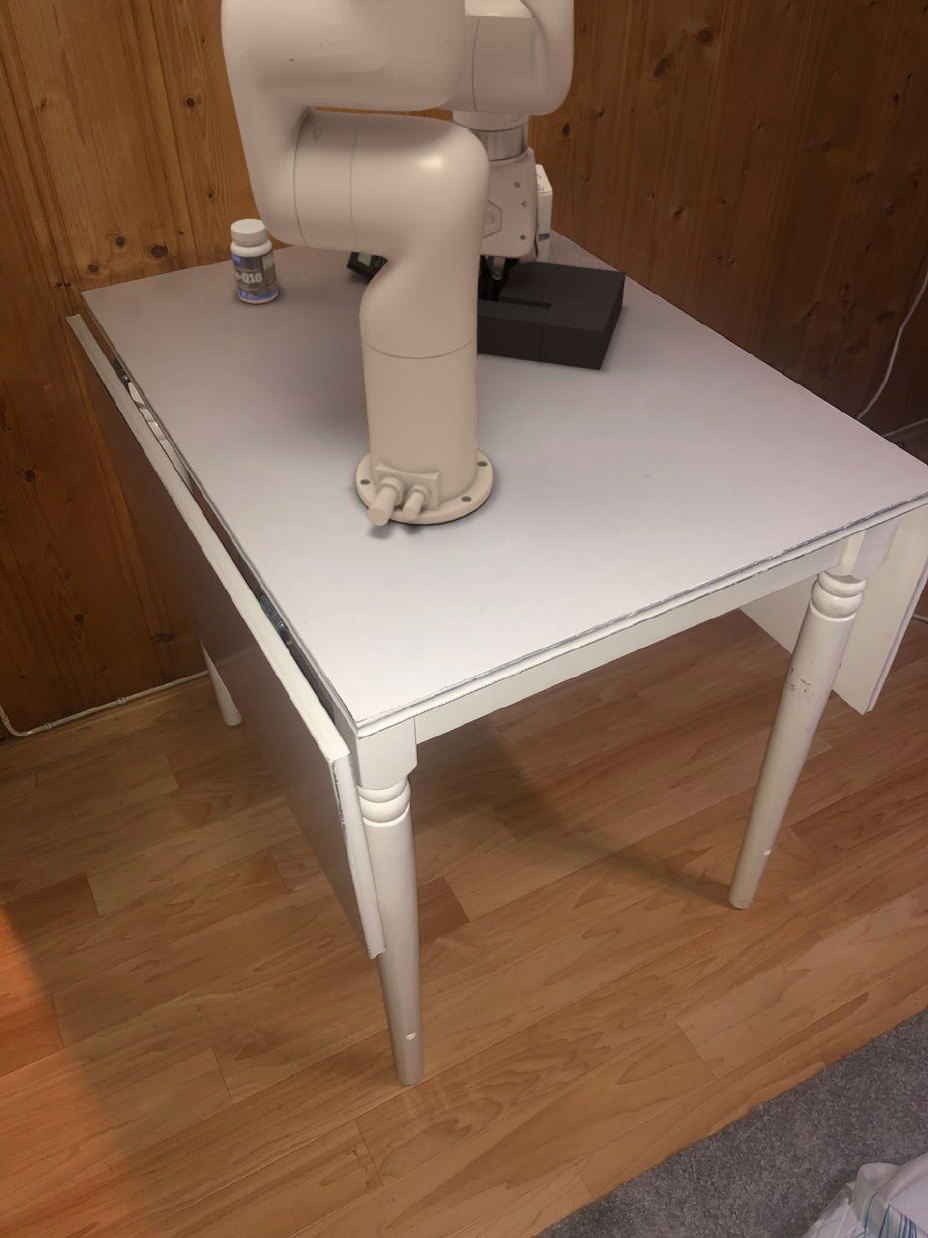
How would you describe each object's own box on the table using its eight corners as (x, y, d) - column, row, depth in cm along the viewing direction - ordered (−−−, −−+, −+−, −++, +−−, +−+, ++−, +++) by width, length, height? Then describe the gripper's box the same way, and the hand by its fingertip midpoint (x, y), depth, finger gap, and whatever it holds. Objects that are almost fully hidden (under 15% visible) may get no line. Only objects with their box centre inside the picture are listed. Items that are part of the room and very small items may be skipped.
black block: (549, 340, 112) (552, 303, 109) (496, 332, 113) (498, 295, 110) (560, 315, 116) (563, 278, 113) (509, 307, 118) (511, 270, 114)
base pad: (455, 349, 111) (454, 311, 108) (488, 291, 121) (488, 255, 117) (600, 370, 108) (603, 331, 105) (621, 308, 117) (626, 271, 114)
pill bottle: (231, 300, 119) (218, 230, 113) (250, 283, 122) (239, 214, 117) (267, 307, 118) (256, 236, 112) (285, 289, 121) (276, 219, 115)
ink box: (497, 261, 126) (499, 164, 118) (536, 259, 127) (541, 162, 118) (507, 293, 120) (510, 193, 112) (548, 291, 121) (553, 191, 112)
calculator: (444, 287, 121) (443, 263, 119) (347, 285, 122) (345, 261, 120) (449, 253, 128) (449, 229, 126) (358, 251, 129) (356, 227, 127)
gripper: (408, 144, 100) (416, 315, 113) (557, 157, 98) (548, 330, 111) (428, 118, 105) (433, 284, 118) (570, 129, 103) (559, 298, 116)
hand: (488, 306), depth 114 cm, fingers closed
